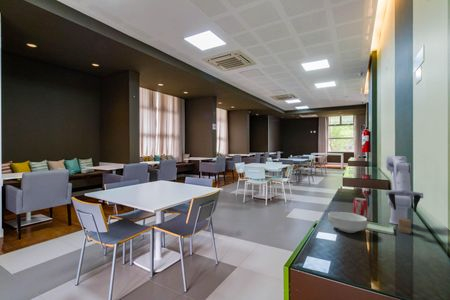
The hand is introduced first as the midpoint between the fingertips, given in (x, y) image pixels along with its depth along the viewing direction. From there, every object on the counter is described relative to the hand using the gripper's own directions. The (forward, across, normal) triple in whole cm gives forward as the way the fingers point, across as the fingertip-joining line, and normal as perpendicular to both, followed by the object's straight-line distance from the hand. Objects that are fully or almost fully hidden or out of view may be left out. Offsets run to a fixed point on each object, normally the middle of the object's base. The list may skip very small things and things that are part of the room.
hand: (404, 210), depth 107 cm
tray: (+10, -11, +5) cm, 15 cm away
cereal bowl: (+16, -24, -6) cm, 29 cm away
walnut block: (+8, 0, +8) cm, 12 cm away
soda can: (+4, -20, +15) cm, 25 cm away
